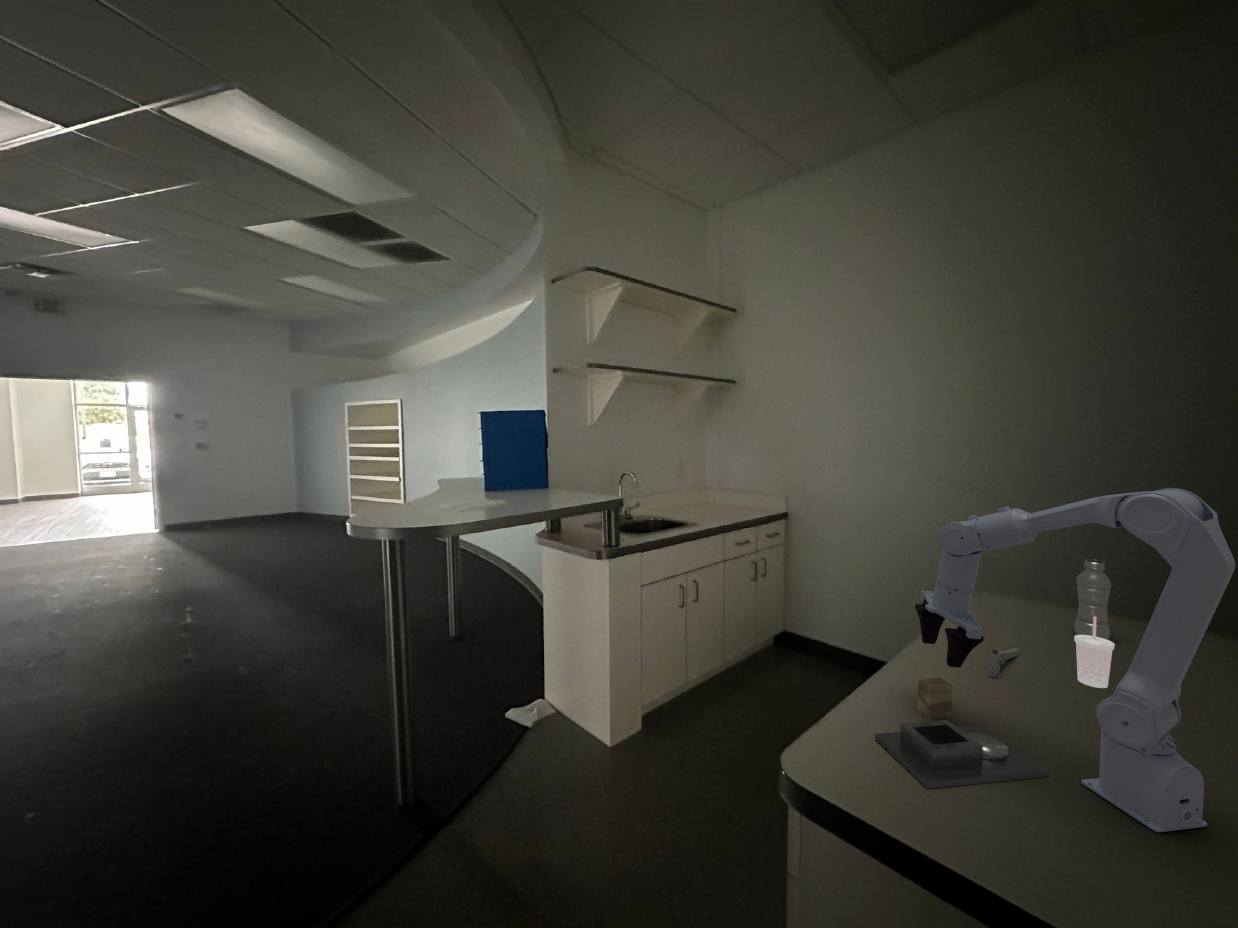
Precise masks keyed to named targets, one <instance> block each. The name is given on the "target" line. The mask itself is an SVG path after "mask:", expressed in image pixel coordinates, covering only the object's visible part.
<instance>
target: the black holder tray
mask: <svg viewBox="0 0 1238 928" xmlns="http://www.w3.org/2000/svg"><path fill="white" fill-rule="evenodd" d="M899 727H900V731H895V732H892V731H891V732H883V733H882V732H881V733H874V740H875V739H876V740H877V741H878V742H879V743H880V744H881V745H883V746H884V748H886V749H887V750H888V751H889V752H888V751H887V750H886V749H885V750H886V751H887V752H888V754H890V755H891V757H893V758H894V759H895V760H896V761H897V762H898V763H899V764H900V765H901V766H902V767H904V768H905V770H907V771H908V772H909V774H911V775H912V776H913V777H914V778H915V779H916V780H917V781H918V782H920V783H921V785H923V786H924V787H925V789H927V790H928V789H929V790H930V789H931V790H932V789H938V788H939V789H940V788H950V787H960V786H969V785H979V784H987V783H988V784H989V783H998V782H1007V781H1008V782H1009V781H1017V780H1026V779H1027V780H1028V779H1036V778H1037V779H1038V778H1047V777H1049V772H1050V771H1049V769H1048V768H1046V767H1045V766H1043V765H1042V764H1041V763H1039V762H1037V761H1036V760H1035V759H1033V758H1032V757H1030V756H1028V755H1027V754H1025V753H1024V752H1023V751H1021V750H1019V749H1018V748H1016V747H1015V746H1014V745H1012V744H1011V743H1009V742H1008V741H1006V740H1005V739H1004V738H1002V737H1000V736H998V734H996V733H994V732H993V731H991V730H990V729H988V728H987V727H986V726H984V725H982V724H975V725H974V724H973V725H964V726H956V724H954V723H953V722H951V721H950V720H948V719H944V720H943V719H942V720H930V721H920V722H919V721H918V722H909V723H908V722H907V723H900V726H899ZM876 740H875V741H876ZM877 741H876V742H877ZM878 742H877V743H878ZM879 743H878V744H879ZM880 744H879V745H880ZM881 745H880V746H881ZM884 748H883V749H884Z"/></svg>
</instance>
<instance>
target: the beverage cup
mask: <svg viewBox="0 0 1238 928" xmlns="http://www.w3.org/2000/svg"><path fill="white" fill-rule="evenodd" d="M1096 618H1097V617H1096V616H1093V636H1090V635H1077V634H1075V635H1074V637H1073V639H1074V640H1073V641H1074V642H1075V647H1076V648H1075V649H1076V650H1075V652H1076V670H1077V671H1076V672H1077V681H1078V682H1079V683H1082V684H1083V685H1085V686H1089V687H1092V688H1098V689H1106V688H1108V687H1109V679H1110V672H1111V665H1112V664H1111V663H1112V656H1113V650H1115V643H1114V642H1113V641H1111V640H1110V639H1108V640H1106V639H1103V638H1100V637H1096Z"/></svg>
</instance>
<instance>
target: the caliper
mask: <svg viewBox="0 0 1238 928" xmlns="http://www.w3.org/2000/svg"><path fill="white" fill-rule="evenodd" d="M1021 653H1022V651H1021V650H1020V648H1015V647H1013V648H1010V649H1006V650H1004V651H1002V650H1001V649H1000V648H996V647H992V649H991V654H990V662H989V677H990V678H995V679H996V678H997V677H999V674H1000V670H1001V665H1002V666H1003V665H1005V664H1006V661H1007V660H1009V659H1012V658H1016V657H1018V656H1020V654H1021ZM1017 655H1018V656H1017Z"/></svg>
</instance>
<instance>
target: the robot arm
mask: <svg viewBox="0 0 1238 928" xmlns="http://www.w3.org/2000/svg"><path fill="white" fill-rule="evenodd" d="M996 510H997V512H995V513H989V514H985V515H982V516H978V515H977V514H975V515H974V514H973V515H971V516H968V518H967V519H968V520H961V521H951V522H950V523H948V524H946V525H944V526H943V527H942V528H941V529H940V530H939V533H938V542H939V545H940V546H941V548H942V551H941V554H940V560H939V563H938V564H939V565H938V570H937V575H936V579H935V580H936V581H935V585H934V590H933V591H931V590H930V591H929V590H921V592H920V597H919V600H920V601H921V602H922V603H916V604H915V605H914V609H915V611H916V612H917V616H918V619H919V624H920V634H921V642H922V644H926V645H927V644H928V645H929V644H930V645H935V644H936V642H937V640H938V637H939V634H940V630H941V628H942V626H943V624H944V621H945V619H947V620H948V621H950V622H952V624H954V625H955V626H956V627H957V628H954V627H953V628H952V627H950V628H949V627H945V628H944V631H945V635H946V640H947V641H946V642H947V650H946V651H947V652H946V665H947V666H948V667H950V668H961V667H962V666H963V663H964V662H965V661H966V659H967V657H968V656H969V654H970V653H972V651H973V650H974V649H975V648H976V647H977V646H978V645H980V644H982V643H983V642H984V639H985V638H984V636H983V631H984V628H983V627H981V625H979V624H978V623H977V621H976V619H975V618H974V617H973V615H972V614H971V612H970V609H971V606H972V600H973V596H974V592H975V586H976V582H977V581H976V580H977V577H978V571H979V567H980V562H981V556H982V553H983V552H985V551H992V550H993V551H994V550H997V549H1003V548H1009V547H1015V546H1020V545H1025V544H1026V545H1027V544H1031V543H1032V542H1033V541H1034V540H1035V539H1036V537H1037V536H1038V534H1039V533H1042V532H1046V531H1052V530H1053V531H1054V530H1058V529H1064V528H1065V529H1066V528H1070V527H1071V528H1072V527H1075V526H1076V527H1077V526H1082V525H1086V524H1087V525H1089V524H1092V523H1095V524H1096V523H1097V524H1100V525H1103V526H1106V527H1108V528H1112V529H1118V528H1121V527H1122V528H1125V530H1126V531H1127V532H1129V533H1130V534H1131V535H1133V536H1134V537H1136V538H1137V539H1139V540H1141V541H1143V543H1146V544H1148V545H1149V546H1150V547H1152V548H1154V549H1155V550H1156V551H1157V552H1158V553H1159V555H1160V556H1161V557H1162V558H1163V559H1164V560H1165V561H1166V563H1168V564H1169V566H1170V567H1171V571H1170V574H1169V575H1168V578H1167V580H1166V583H1165V586H1164V587H1163V589H1162V592H1161V594H1160V597H1159V599H1158V601H1157V604H1156V606H1155V607H1154V610H1153V612H1152V615H1151V617H1150V619H1149V622H1148V624H1147V625H1146V629H1145V631H1144V633H1143V636H1142V638H1141V640H1140V643H1139V645H1138V647H1137V649H1136V652H1135V653H1134V654H1135V655H1134V657H1133V658H1132V661H1131V663H1130V665H1129V667H1128V670H1127V672H1126V673H1125V674H1124V676H1123V677H1122V678H1121V680H1120V681H1119V682H1118V684H1117V686H1116V687H1115V689H1114V692H1113V694H1112V695H1111V696H1110V697H1107V698H1105V699H1104V700H1102V701H1100V702H1099V703H1098V705H1097V706H1096V709H1095V718H1096V720H1097V721H1096V722H1097V723H1098V725H1099V727H1101V728H1100V751H1099V775H1098V777H1097V778H1088V779H1087V778H1086V779H1081V784H1082V785H1083V786H1084V787H1086V788H1088V789H1090V790H1091V791H1092V792H1094V793H1096V794H1097V795H1099V796H1100V797H1102V799H1104V800H1106V801H1108V802H1109V803H1111V804H1112V805H1114V806H1115V807H1117V808H1119V810H1121V811H1123V812H1125V813H1126V814H1127V815H1129V816H1131V817H1132V818H1133V819H1135V820H1137V821H1139V822H1140V823H1141V824H1143V825H1144V826H1146V827H1147V828H1149V829H1151V830H1152V831H1153V832H1156V833H1164V832H1172V831H1179V830H1187V829H1189V830H1190V829H1197V828H1204V827H1208V823H1207V821H1205V820H1204V819H1203V818H1204V817H1203V815H1204V814H1203V812H1204V797H1205V780H1204V777H1203V775H1202V773H1201V770H1199V769H1198V768H1197V767H1195V766H1194V765H1192V764H1191V763H1189V762H1188V761H1187V760H1185V759H1184V758H1183V757H1182V756H1181V755H1180V754H1179V753H1178V752H1177V745H1176V744H1175V741H1174V738H1172V736H1171V733H1170V730H1173V729H1174V728H1175V727H1176V726H1178V725H1179V724H1180V722H1181V718H1182V714H1181V709H1180V707H1179V698H1180V696H1181V694H1182V687H1181V686H1182V683H1183V680H1184V679H1185V676H1186V674H1187V672H1188V671H1189V668H1190V666H1191V663H1192V662H1193V659H1194V657H1195V655H1196V653H1197V650H1198V648H1199V646H1200V644H1201V642H1202V640H1203V637H1204V636H1205V633H1206V631H1207V630H1208V627H1209V625H1210V623H1211V621H1212V618H1213V616H1214V614H1215V613H1216V610H1217V608H1218V606H1219V604H1220V602H1221V600H1222V597H1223V595H1224V594H1225V591H1226V589H1227V587H1228V585H1229V583H1230V580H1231V578H1232V576H1233V574H1234V572H1235V569H1236V562H1235V558H1234V556H1233V554H1232V551H1231V549H1230V547H1229V545H1228V543H1227V540H1226V537H1225V536H1224V534H1223V532H1222V529H1221V526H1220V523H1219V517H1218V513H1217V512H1216V511H1215V510H1214V509H1213V508H1212V507H1210V505H1208V504H1207V503H1206V502H1205V501H1204V500H1203V499H1201V497H1199V496H1198V495H1197V494H1195V493H1193V492H1191V491H1188V490H1186V489H1181V488H1177V487H1167V488H1166V487H1165V488H1160V489H1156V490H1153V491H1152V490H1151V491H1135V492H1127V493H1118V494H1107V495H1102V496H1095V497H1091V498H1088V499H1083V500H1079V501H1076V502H1071V503H1067V504H1064V505H1059V506H1056V507H1052V508H1048V509H1044V510H1039V511H1036V512H1028V511H1026V510H1023V509H1021V508H1017V507H1016V508H1015V507H1014V508H1010V507H1009V506H1004V507H1000V508H997V509H996Z"/></svg>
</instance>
